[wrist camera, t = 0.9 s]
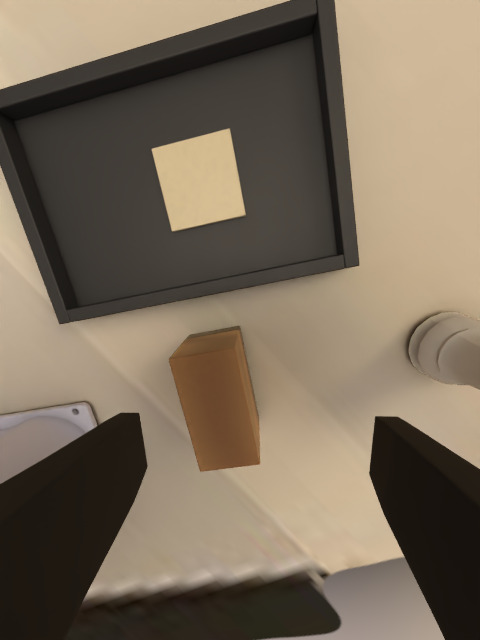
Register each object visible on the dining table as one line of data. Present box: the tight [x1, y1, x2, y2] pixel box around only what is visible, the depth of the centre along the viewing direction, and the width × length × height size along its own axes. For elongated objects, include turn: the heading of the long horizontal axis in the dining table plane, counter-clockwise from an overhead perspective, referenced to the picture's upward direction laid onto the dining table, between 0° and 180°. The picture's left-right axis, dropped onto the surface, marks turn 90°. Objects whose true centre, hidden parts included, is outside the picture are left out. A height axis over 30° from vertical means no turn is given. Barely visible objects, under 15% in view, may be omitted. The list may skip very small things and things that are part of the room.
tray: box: [0, 0, 359, 324], centre depth 15 cm, size 19×13×2 cm
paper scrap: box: [152, 129, 246, 232], centre depth 15 cm, size 4×4×1 cm
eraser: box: [169, 326, 260, 471], centre depth 16 cm, size 4×7×4 cm, turn 11°
